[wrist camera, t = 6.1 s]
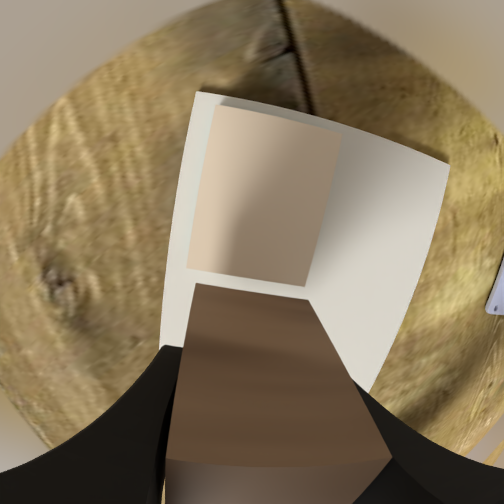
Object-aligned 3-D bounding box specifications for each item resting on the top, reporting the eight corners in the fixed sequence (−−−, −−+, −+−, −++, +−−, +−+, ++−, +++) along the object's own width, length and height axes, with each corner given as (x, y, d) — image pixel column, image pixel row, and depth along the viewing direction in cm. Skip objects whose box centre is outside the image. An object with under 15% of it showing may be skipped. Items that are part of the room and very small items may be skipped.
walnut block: (281, 384, 12) (319, 535, 6) (183, 373, 12) (165, 534, 5) (308, 300, 11) (392, 457, 4) (195, 282, 11) (166, 457, 4)
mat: (445, 164, 14) (450, 165, 14) (363, 394, 18) (365, 398, 18) (197, 93, 12) (196, 91, 12) (158, 378, 16) (157, 382, 16)
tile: (297, 273, 15) (330, 135, 13) (304, 286, 13) (342, 133, 11) (189, 256, 14) (216, 109, 12) (186, 268, 13) (215, 104, 11)
